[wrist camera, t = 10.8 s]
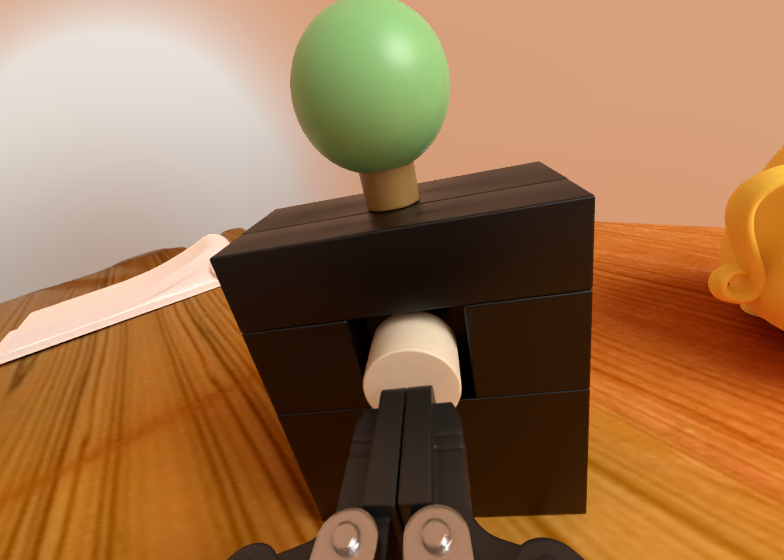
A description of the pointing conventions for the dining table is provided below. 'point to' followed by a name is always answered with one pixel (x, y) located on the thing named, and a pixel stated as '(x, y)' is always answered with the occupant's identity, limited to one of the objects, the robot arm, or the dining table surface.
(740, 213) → the teapot
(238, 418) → the dining table surface
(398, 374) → the stubby beige cylinder
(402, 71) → the dark block with knob
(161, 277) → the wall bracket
